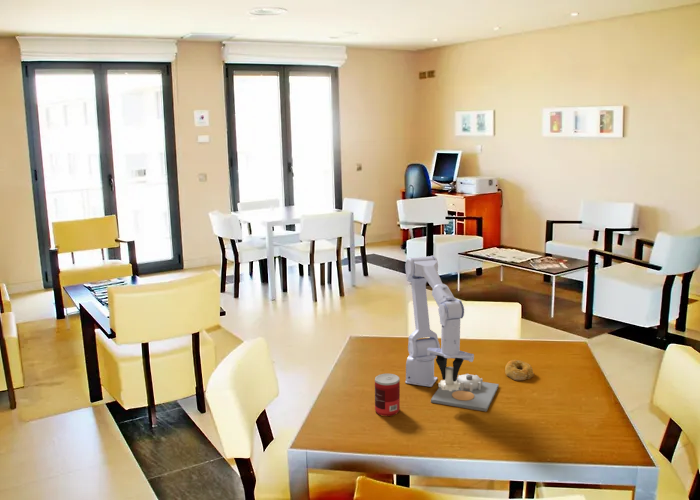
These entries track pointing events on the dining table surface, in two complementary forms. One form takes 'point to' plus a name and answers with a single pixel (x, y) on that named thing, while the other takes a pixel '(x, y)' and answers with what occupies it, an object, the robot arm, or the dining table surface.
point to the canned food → (387, 394)
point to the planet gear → (449, 381)
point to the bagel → (518, 370)
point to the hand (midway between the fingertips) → (449, 379)
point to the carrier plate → (468, 393)
